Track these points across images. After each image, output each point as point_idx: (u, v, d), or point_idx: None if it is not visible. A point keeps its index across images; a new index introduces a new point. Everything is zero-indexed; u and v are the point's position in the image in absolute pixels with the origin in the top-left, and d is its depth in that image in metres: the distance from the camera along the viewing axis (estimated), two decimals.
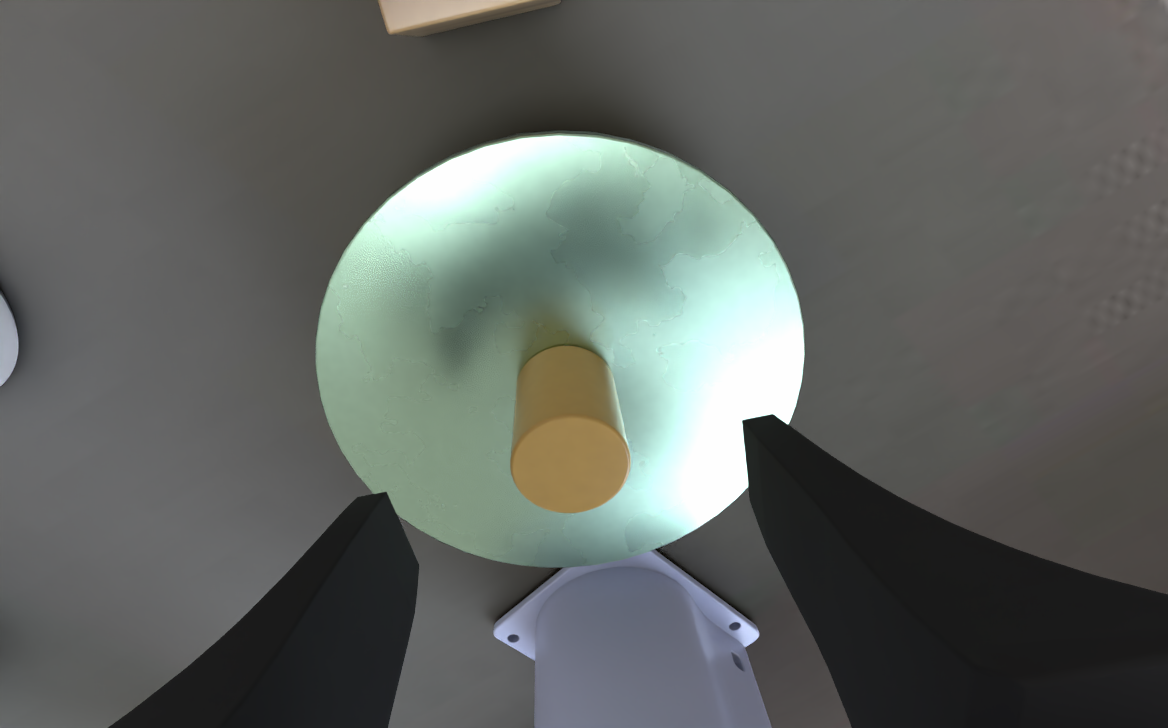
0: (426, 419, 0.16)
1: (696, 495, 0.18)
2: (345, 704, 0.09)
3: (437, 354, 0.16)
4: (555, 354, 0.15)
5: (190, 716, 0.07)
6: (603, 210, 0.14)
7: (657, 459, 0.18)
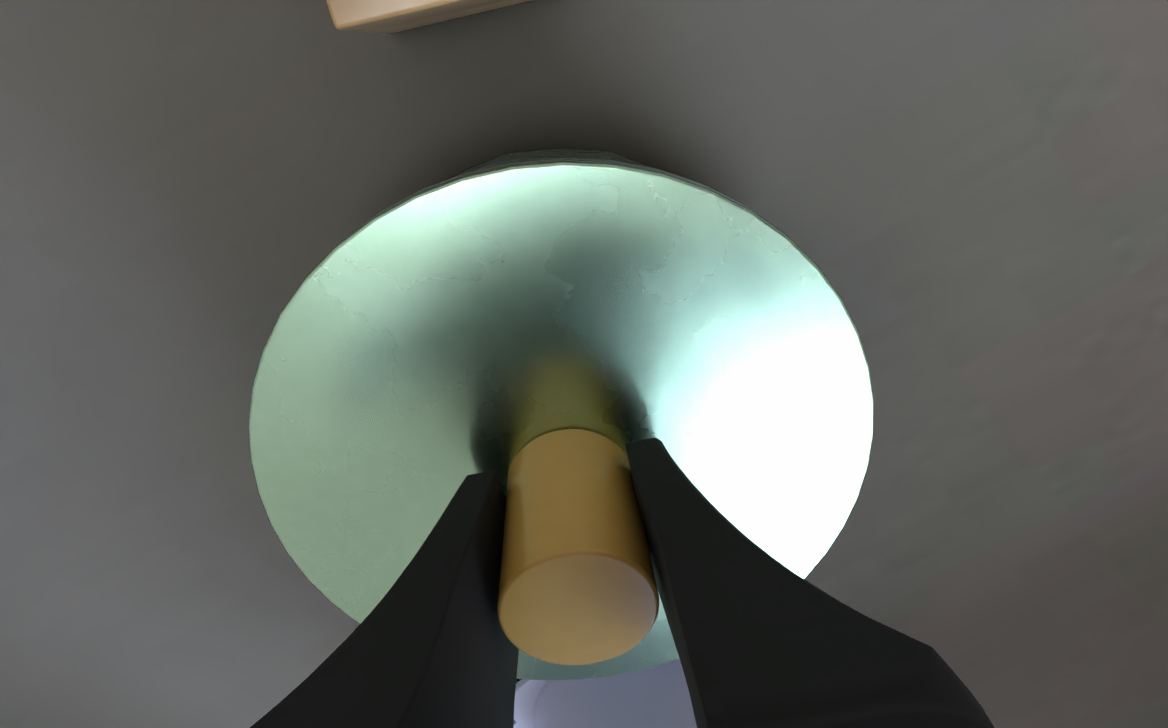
0: (394, 516, 0.13)
1: None
2: (487, 677, 0.09)
3: (406, 440, 0.12)
4: (557, 443, 0.12)
5: (377, 680, 0.07)
6: (620, 262, 0.11)
7: None
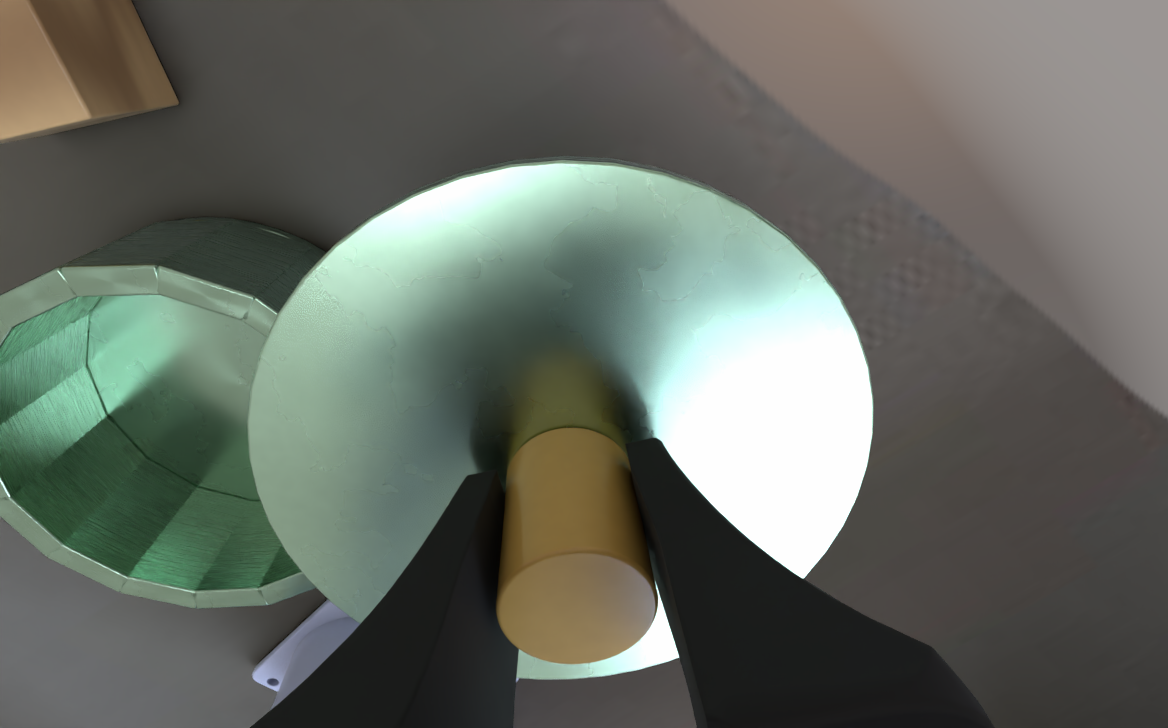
0: (393, 515, 0.13)
1: None
2: (487, 677, 0.09)
3: (405, 439, 0.12)
4: (556, 441, 0.12)
5: (376, 681, 0.07)
6: (619, 260, 0.11)
7: None
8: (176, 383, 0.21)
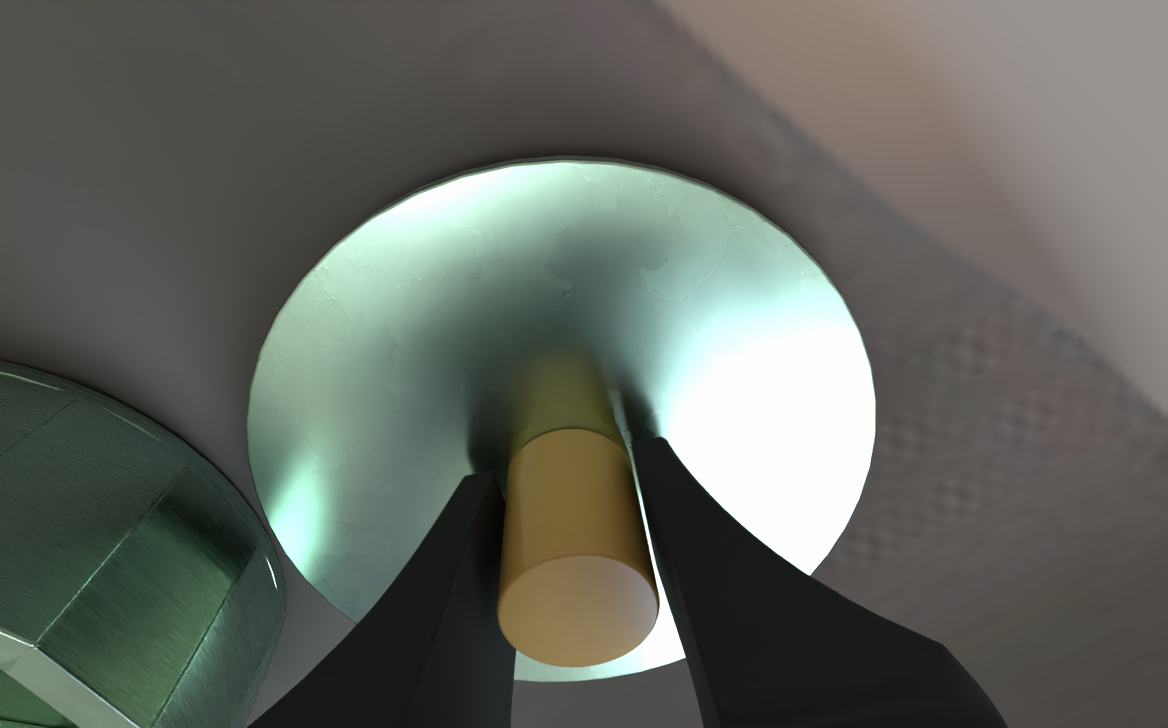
0: (393, 517, 0.13)
1: None
2: (484, 678, 0.09)
3: (405, 440, 0.12)
4: (557, 443, 0.12)
5: (373, 681, 0.07)
6: (621, 260, 0.11)
7: None
8: None
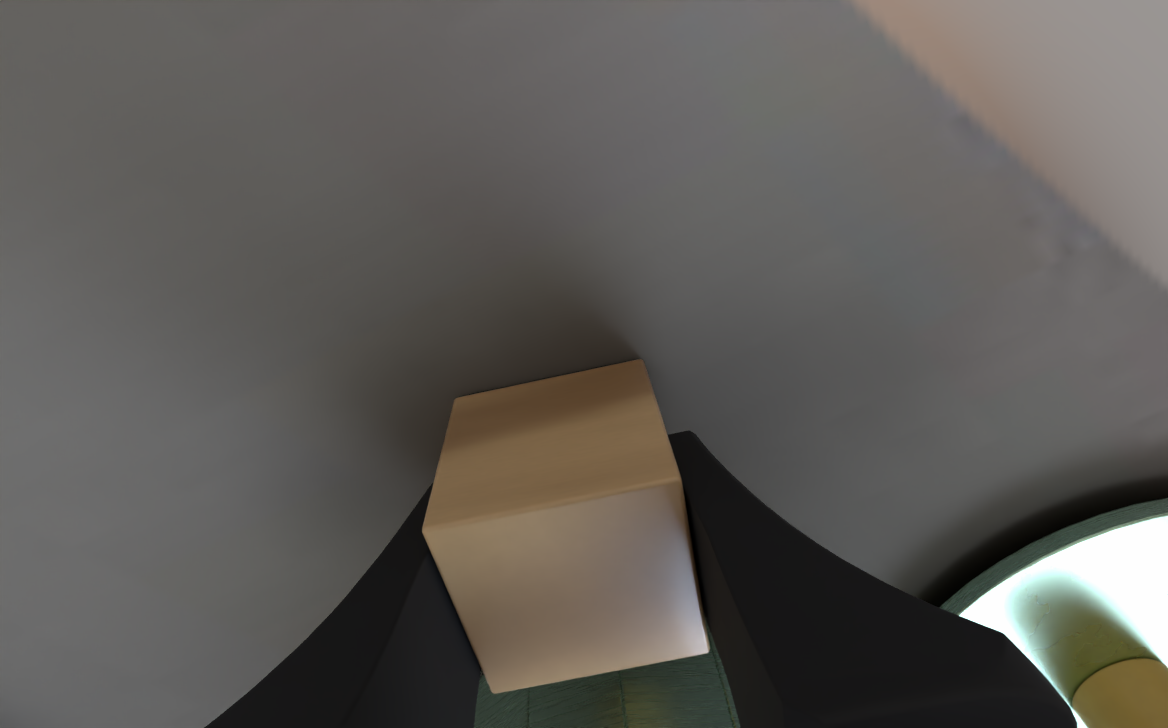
0: None
1: None
2: (443, 686, 0.09)
3: None
4: (1145, 675, 0.16)
5: (319, 690, 0.07)
6: None
7: None
8: None
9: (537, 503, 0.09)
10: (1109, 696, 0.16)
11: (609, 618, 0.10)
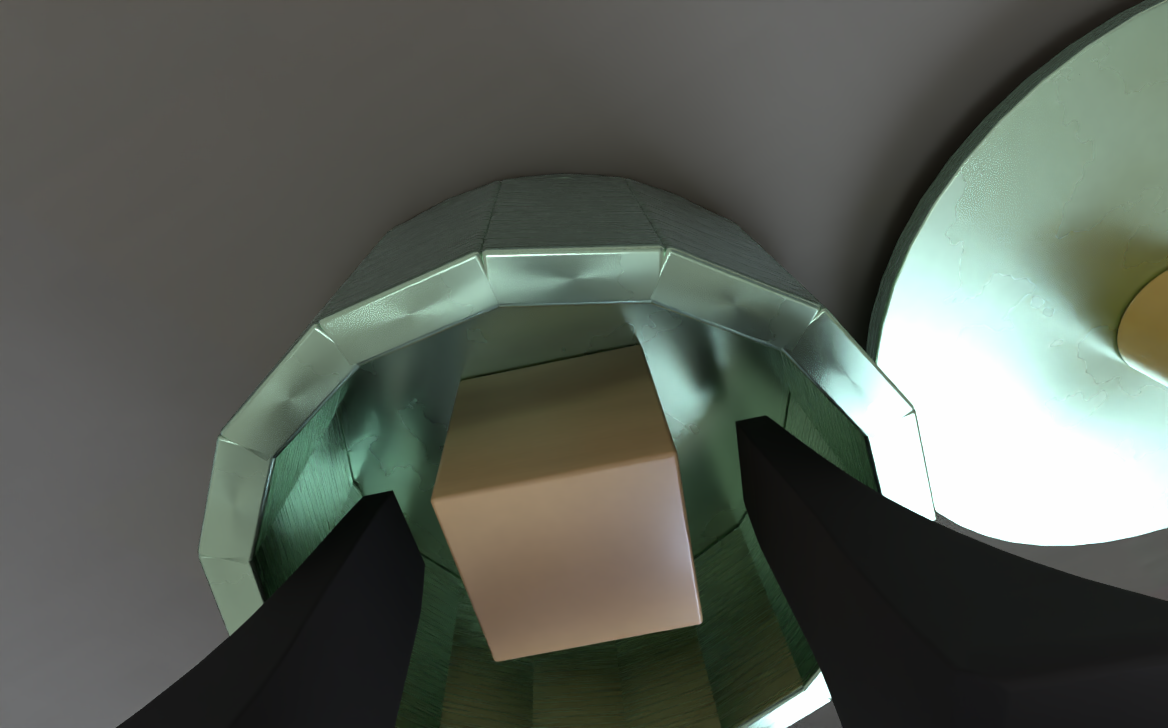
0: (995, 354, 0.13)
1: None
2: (353, 703, 0.09)
3: (1048, 267, 0.12)
4: None
5: (202, 714, 0.07)
6: None
7: None
8: None
9: (540, 476, 0.10)
10: None
11: (607, 587, 0.11)
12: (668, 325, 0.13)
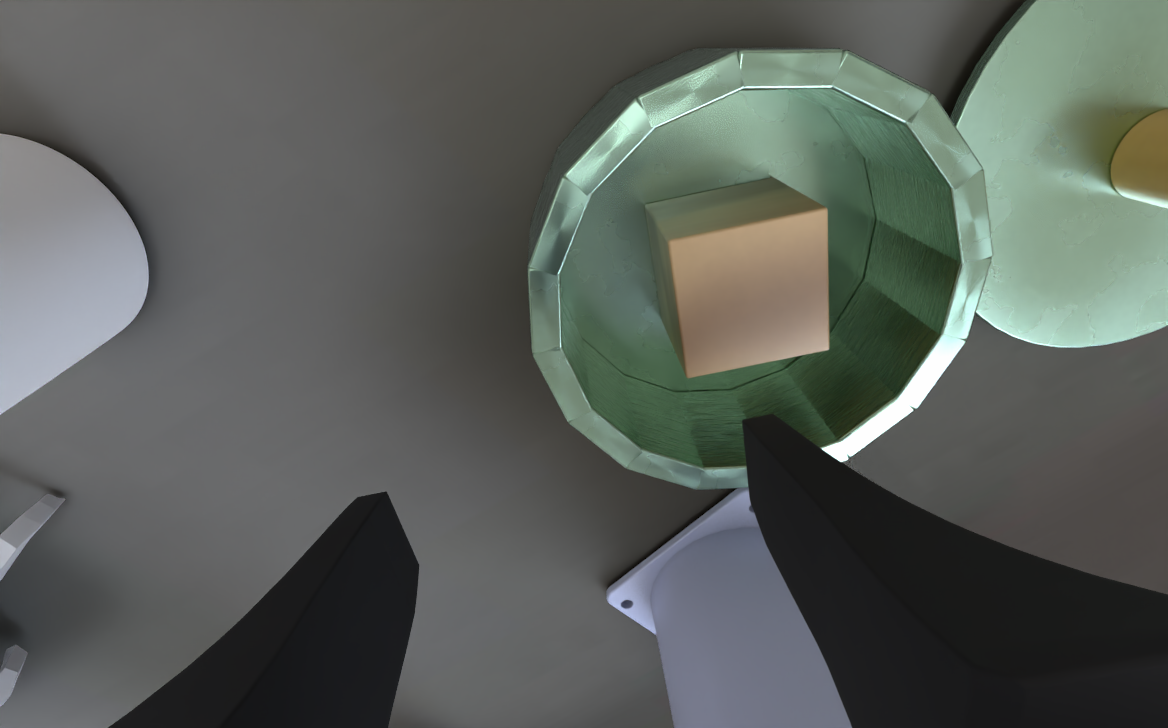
0: (1025, 183, 0.19)
1: None
2: (345, 704, 0.09)
3: (1063, 115, 0.18)
4: None
5: (190, 716, 0.07)
6: None
7: None
8: (643, 249, 0.20)
9: (739, 225, 0.15)
10: (1146, 133, 0.17)
11: (770, 316, 0.16)
12: (794, 163, 0.19)
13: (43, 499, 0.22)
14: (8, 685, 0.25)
